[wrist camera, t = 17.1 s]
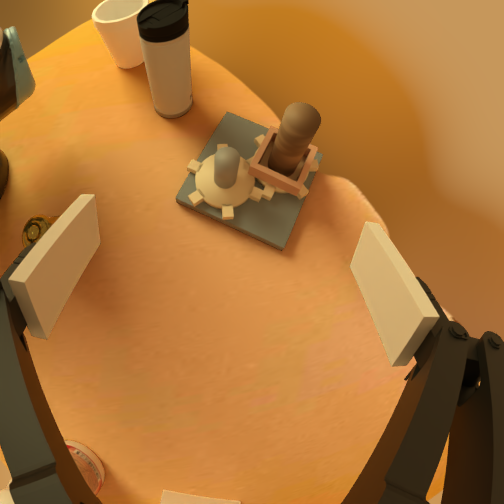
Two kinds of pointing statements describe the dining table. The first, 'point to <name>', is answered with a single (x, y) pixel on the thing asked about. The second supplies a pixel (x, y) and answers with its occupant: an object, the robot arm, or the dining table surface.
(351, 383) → the dining table surface
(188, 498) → the milk
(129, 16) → the foam cup
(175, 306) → the dining table surface
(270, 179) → the gear board
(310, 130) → the wooden dowel peg
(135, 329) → the dining table surface
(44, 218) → the salt shaker
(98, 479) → the fruit juice
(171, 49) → the travel mug
